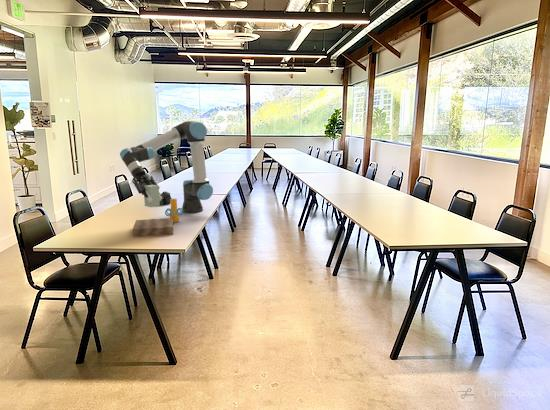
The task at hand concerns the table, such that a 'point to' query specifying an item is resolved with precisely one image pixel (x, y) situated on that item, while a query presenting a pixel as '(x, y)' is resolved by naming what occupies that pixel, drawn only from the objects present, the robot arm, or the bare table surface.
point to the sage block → (152, 195)
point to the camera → (165, 198)
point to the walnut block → (153, 227)
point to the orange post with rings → (174, 210)
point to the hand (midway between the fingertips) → (155, 200)
